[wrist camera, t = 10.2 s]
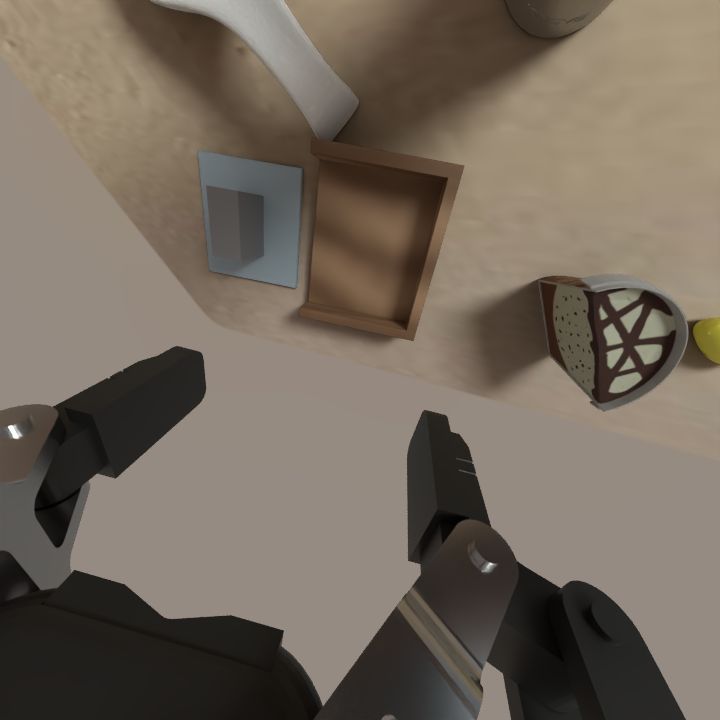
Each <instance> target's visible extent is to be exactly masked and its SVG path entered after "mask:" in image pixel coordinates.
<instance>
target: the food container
mask: <svg viewBox="0 0 720 720" xmlns="http://www.w3.org/2000/svg"><path fill="white" fill-rule="evenodd" d="M537 280H538V286H539V293H540V300H541V307H542V314H543V321H544V328H545V335H546V342H547V349H548V354H549V356H550V357H551V358H552V359H553V360H554V361H555V362H556V363H557V364H558V365H559V366H560V367H561V368H562V369H563V370H564V371H565V372H566V373H567V374H568V375H569V376H570V378H571V379H572V380H573V381H574V382H575V383H576V384H577V385H578V386H579V387H580V388H581V389H582V390H583V391H584V392H585V393H586V394H587V395H588V396H589V397H590V399H591V400H592V401H591V402H590V404H592V405H593V406H595V407H596V408H598V409H599V410H600V409H601V410H602V411H603V412H606V411H610V410H614V409H617V408H620V407H623V406H625V405H628V404H630V403H632V402H634V401H636V400H638V399H640V398H642V397H643V396H645V395H647V394H648V393H650V392H651V391H653V390H654V389H655V388H657V387H658V386H659V385H660V384H661V383H662V382H663V381H664V380H666V379H667V378H668V377H669V375H670V374H671V373H672V372H673V371H674V369H675V368H676V367H677V365H678V363H679V362H680V360H681V358H682V357H683V354H684V352H685V349H686V346H687V341H688V324H687V320H686V317H685V315H684V313H683V311H682V310H681V308H680V307H679V305H678V304H677V302H676V301H675V300H674V299H673V298H672V297H671V296H670V295H669V294H667V293H666V292H664V291H663V290H661V289H659V288H658V287H656V286H654V285H653V284H651V283H649V282H648V281H646V280H643V279H640V278H637V277H634V276H628V275H623V274H604V275H596V276H591V277H587V278H575V277H567V276H550V277H544V278H541V279H537Z"/></svg>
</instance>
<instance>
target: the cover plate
mask: <svg viewBox="0 0 720 720" xmlns="http://www.w3.org/2000/svg"><path fill="white" fill-rule="evenodd" d="M198 159H199V169H200V179H201V189H202V200H203V210H204V220H205V231H206V241H207V251H208V261H209V271H213V272H218V273H223V274H228V275H233V276H238V277H243V278H248V279H253V280H258V281H263V282H268V283H273V284H278V285H283V286H288V287H293V288H297V283H298V264H299V245H300V225H301V206H302V186H303V169H301V168H296V167H290V166H284V165H279V164H273V163H267V162H262V161H256V160H250V159H245V158H239V157H233V156H227V155H222V154H216V153H210V152H205V151H199V150H198Z"/></svg>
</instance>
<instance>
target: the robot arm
mask: <svg viewBox="0 0 720 720" xmlns="http://www.w3.org/2000/svg"><path fill="white" fill-rule="evenodd" d="M612 1H613V0H506V3H507V5H508V8H509V10H510V13H511V15H512V17H513V18H514V20H515V21H516V22H517V24H518V25H519V26H520V27H521V28H522V29H524V30H525V31H526V32H528V33H529V34H531V35H534V36H537V37H541V38H557V37H561V36H564V35H568V34H571V33H572V32H574V31H576V30H578V29H580V28H582V27H584V26H585V25H587V24H588V23H589V22H591V21H592V20H593V19H595V18H596V17H597V16H598V15H599V14H600V13H601V12H602V11H603V10H604V9H605V8H606V7H607V6H608V5H609V4H610V3H611V2H612ZM205 392H206V381H205V371H204V360H203V355H202V354H201V352H198V351H194V350H191V349H187V348H183V347H179V346H176V347H173V348H171V349H169V350H167V351H165V352H164V353H162V354H160V355H158V356H156V357H152V358H148V359H145V360H142V361H139V362H137V363H135V364H133V365H131V366H129V367H127V368H125V369H124V370H123V372H122V371H120V372H118V373H116V374H114V375H112V376H111V377H110V379H108V378H106V379H105V380H103V381H101V382H99V383H97V384H95V385H93V386H92V387H89V388H88V389H86V390H84V391H82V392H80V393H78V394H76V395H74V396H73V397H71V398H69V399H67V400H65V401H63V402H61V403H59V404H57V405H56V406H53V407H51V406H48V405H41V404H33V405H23V406H17V407H13V408H8V409H5V410H2V411H0V720H477V717H478V715H479V711H480V708H481V704H482V699H483V687H482V686H481V684H480V679H481V674H482V671H483V668H484V666H485V663H486V661H487V662H488V663H490V664H491V665H492V666H494V667H495V668H496V669H498V670H499V671H500V672H502V673H503V676H504V682H505V687H506V693H507V698H508V704H509V710H510V715H511V720H686V719H685V717H684V715H683V713H682V711H681V710H680V708H679V706H678V704H677V702H676V700H675V698H674V696H673V694H672V693H671V691H670V689H669V687H668V685H667V683H666V681H665V679H664V678H663V676H662V674H661V672H660V670H659V668H658V666H657V664H656V662H655V661H654V659H653V657H652V655H651V653H650V651H649V649H648V647H647V646H646V644H645V642H644V640H643V638H642V637H641V635H640V633H639V631H638V630H637V628H636V627H635V626H634V624H633V622H632V621H631V620H630V618H629V617H628V616H627V615H626V614H625V613H624V611H623V610H622V609H621V608H620V607H619V606H618V605H617V604H616V603H615V602H614V601H613V600H612V599H611V598H609V597H608V596H607V595H606V594H604V593H603V592H602V591H600V590H599V589H597V588H596V587H594V586H592V585H590V584H588V583H585V582H582V581H570V582H569V583H567V584H566V585H564V586H563V587H562V588H560V587H558V586H556V585H555V584H553V583H551V582H549V581H548V580H546V579H545V578H543V577H541V576H539V575H538V574H536V573H535V572H533V571H531V570H530V569H528V568H526V567H525V566H523V565H522V564H520V563H519V562H517V560H516V558H515V556H514V553H513V551H512V550H511V548H510V546H509V545H508V544H507V542H506V541H505V540H504V539H503V538H502V536H501V535H500V534H498V532H497V531H495V530H494V529H493V528H492V527H491V525H490V521H489V518H488V514H487V510H486V507H485V503H484V500H483V496H482V493H481V490H480V486H479V483H478V479H477V476H476V472H475V468H474V464H472V457H471V454H470V450H469V447H468V446H467V444H466V443H465V442H464V440H463V439H462V437H461V436H460V435H459V434H456V433H453V432H451V431H450V426H449V422H448V418H447V416H446V415H442V414H439V413H435V412H431V411H427V410H424V411H423V412H422V414H421V417H420V419H419V422H418V424H417V426H416V430H415V431H414V434H413V436H412V439H411V441H410V445H409V449H408V455H407V492H408V493H407V495H408V561H411V562H415V563H418V564H421V575H420V576H419V578H418V579H417V580H416V582H415V583H414V585H413V586H412V587H411V589H410V590H409V591H408V593H407V594H405V596H404V597H403V598H402V600H401V601H400V602H399V603H398V605H397V606H396V607H395V609H394V610H393V611H392V613H391V614H390V616H389V617H388V618H387V620H386V621H385V622H384V624H383V625H382V627H381V628H380V629H379V631H378V632H377V633H376V635H375V636H374V637H373V639H372V640H371V642H370V643H369V645H368V646H367V647H366V648H365V650H364V651H363V653H362V654H361V655H360V657H359V658H358V659H357V661H356V662H355V664H354V665H353V667H352V668H351V669H350V670H349V672H348V673H347V675H346V676H345V677H344V679H343V680H342V681H341V683H340V684H339V685H338V687H337V688H336V690H335V691H334V692H333V694H332V695H331V697H330V698H329V699H328V701H327V702H326V703H325V705H324V706H322V703H321V700H320V697H319V695H318V693H317V691H316V689H315V687H314V685H313V683H312V681H311V679H310V678H309V676H308V675H307V673H306V672H305V670H304V668H303V667H302V666H301V664H300V663H299V662H298V661H297V660H296V659H295V658H294V657H293V655H291V654H290V653H289V652H288V651H287V650H285V649H284V648H283V647H282V646H281V644H282V638H283V632H284V631H283V630H280V629H276V628H273V627H269V626H266V625H262V624H259V623H256V622H252V621H249V620H245V619H242V618H238V617H235V616H231V615H230V616H215V617H198V618H183V619H167V618H164V617H163V616H161V615H160V614H159V613H158V612H156V611H155V610H154V609H153V608H152V607H151V606H149V605H148V604H147V603H146V602H145V601H143V600H142V599H141V598H140V597H139V596H138V595H136V594H135V593H134V592H133V591H132V590H131V589H129V588H128V587H127V586H126V585H125V584H121V583H117V582H114V581H111V580H107V579H103V578H100V577H97V576H94V575H90V574H87V573H83V572H80V571H76V570H74V571H73V572H72V573H71V569H70V556H71V551H72V548H73V544H74V541H75V538H76V534H77V531H78V527H79V524H80V521H81V517H82V514H83V511H84V507H85V504H86V501H87V497H88V494H89V490H90V483H89V481H88V480H89V479H91V478H92V477H93V476H94V475H96V474H97V473H98V474H101V475H105V476H108V477H112V478H117V477H118V476H119V475H120V474H121V473H122V472H123V471H125V470H126V469H127V468H128V467H129V466H130V465H131V464H132V463H134V462H135V461H136V460H137V459H138V458H139V457H140V456H141V455H143V454H144V453H145V452H146V451H147V450H148V449H149V448H150V447H152V446H153V445H154V444H155V443H156V442H157V441H158V440H159V439H161V438H162V437H163V436H164V435H165V434H166V433H167V432H168V431H169V430H170V429H172V428H173V427H174V426H175V425H176V424H177V423H178V422H180V420H182V419H183V418H184V417H185V416H186V415H187V414H188V413H190V412H191V411H192V410H193V409H194V408H195V407H196V406H197V405H198V404H200V402H201V401H202V399H203V398H204V395H205Z"/></svg>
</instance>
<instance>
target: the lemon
mask: <svg viewBox="0 0 720 720" xmlns="http://www.w3.org/2000/svg"><path fill="white" fill-rule="evenodd" d="M693 335H694V338H695V341H696V343H697V345H698V347H699V348H700V350H701V351H702V352H703V353H704V355H705V356H706V357H707V358H708V359H709V360H711V361H713V362H715V363H718V364H720V318H709V319H704V320H701V321H699V322H698V323H697V324H695V326H694V328H693Z"/></svg>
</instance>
